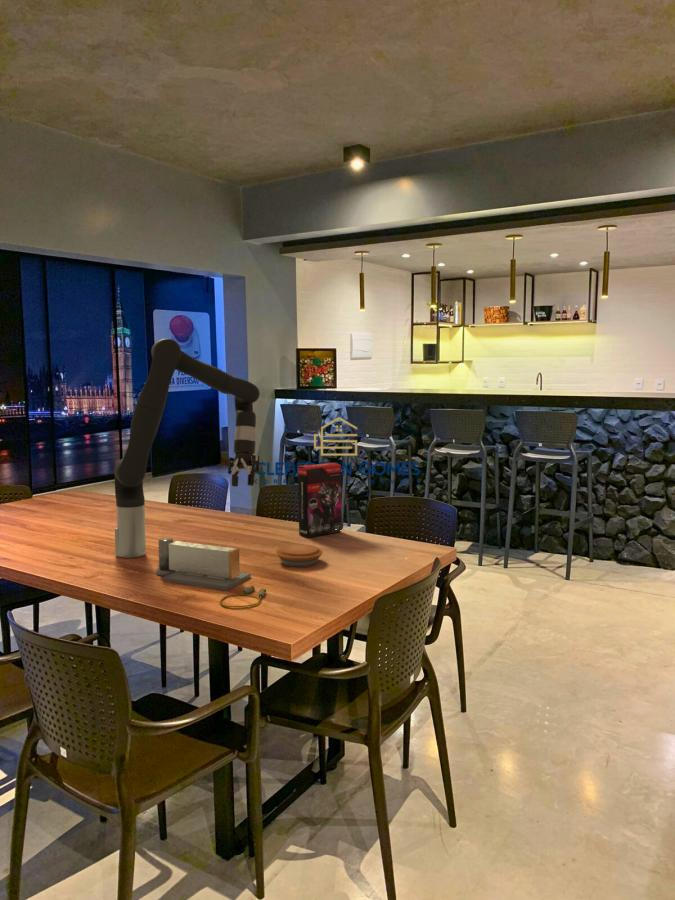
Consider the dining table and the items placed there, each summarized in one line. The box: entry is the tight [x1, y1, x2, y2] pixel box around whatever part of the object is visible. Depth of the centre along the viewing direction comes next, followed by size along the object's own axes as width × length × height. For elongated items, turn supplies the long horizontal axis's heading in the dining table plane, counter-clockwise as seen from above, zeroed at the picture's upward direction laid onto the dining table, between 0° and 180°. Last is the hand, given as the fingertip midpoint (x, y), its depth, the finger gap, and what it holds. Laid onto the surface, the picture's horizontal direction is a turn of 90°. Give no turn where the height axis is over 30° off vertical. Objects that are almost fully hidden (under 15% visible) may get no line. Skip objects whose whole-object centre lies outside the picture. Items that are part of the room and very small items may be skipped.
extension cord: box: [219, 585, 267, 610], centre depth 189 cm, size 12×16×2 cm
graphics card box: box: [297, 462, 343, 538], centre depth 265 cm, size 17×7×27 cm, turn 128°
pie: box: [275, 543, 323, 568], centre depth 227 cm, size 15×16×5 cm
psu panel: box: [156, 567, 252, 591], centre depth 208 cm, size 29×14×1 cm, turn 67°
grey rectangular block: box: [158, 537, 241, 579], centre depth 208 cm, size 27×4×9 cm, turn 67°
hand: (242, 486), depth 238 cm, fingers open, 8 cm apart
